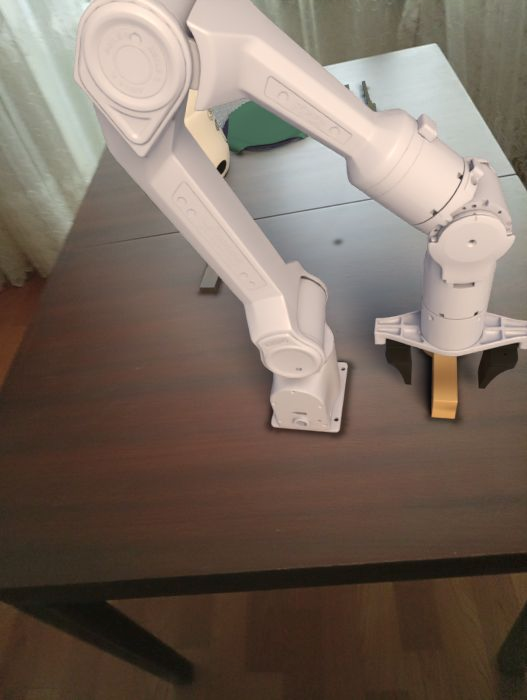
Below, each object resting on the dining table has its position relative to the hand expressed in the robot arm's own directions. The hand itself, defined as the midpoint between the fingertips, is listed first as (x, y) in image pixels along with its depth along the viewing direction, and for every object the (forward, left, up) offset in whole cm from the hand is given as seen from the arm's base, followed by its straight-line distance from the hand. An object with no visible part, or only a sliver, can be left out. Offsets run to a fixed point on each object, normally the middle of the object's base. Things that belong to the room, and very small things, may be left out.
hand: (444, 379), depth 56 cm
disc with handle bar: (+2, 0, -2) cm, 3 cm away
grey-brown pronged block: (+22, +33, -2) cm, 40 cm away
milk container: (+43, +45, -2) cm, 63 cm away
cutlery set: (+60, +27, -2) cm, 66 cm away
